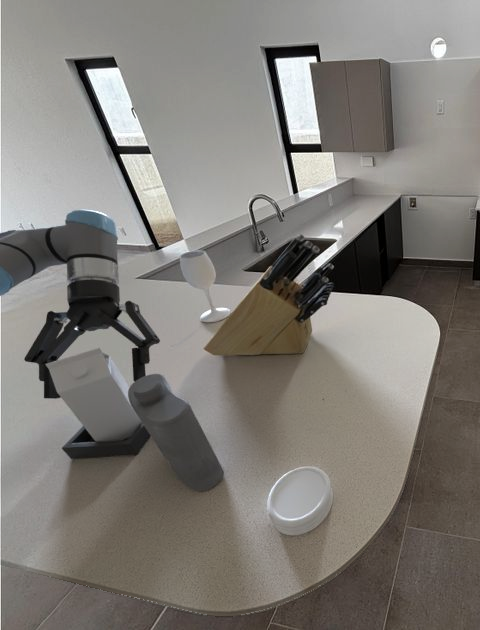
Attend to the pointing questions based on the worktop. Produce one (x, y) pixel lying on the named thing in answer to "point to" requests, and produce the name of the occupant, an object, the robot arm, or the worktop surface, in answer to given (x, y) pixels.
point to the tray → (105, 445)
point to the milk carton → (95, 394)
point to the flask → (175, 432)
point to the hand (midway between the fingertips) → (97, 389)
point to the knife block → (276, 308)
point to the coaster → (300, 500)
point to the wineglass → (202, 280)
